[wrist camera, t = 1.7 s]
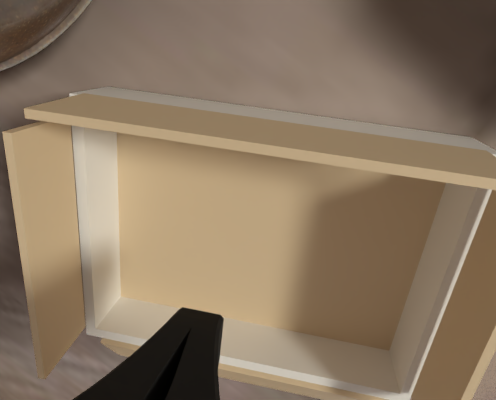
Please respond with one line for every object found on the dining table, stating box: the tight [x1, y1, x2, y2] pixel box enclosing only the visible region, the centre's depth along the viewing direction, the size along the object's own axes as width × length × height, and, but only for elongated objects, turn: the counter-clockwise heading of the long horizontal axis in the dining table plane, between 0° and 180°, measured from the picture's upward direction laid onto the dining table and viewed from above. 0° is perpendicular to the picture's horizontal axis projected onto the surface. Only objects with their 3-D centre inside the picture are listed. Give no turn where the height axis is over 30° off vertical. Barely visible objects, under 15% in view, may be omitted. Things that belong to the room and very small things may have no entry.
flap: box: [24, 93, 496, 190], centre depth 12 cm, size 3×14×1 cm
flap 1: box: [2, 121, 86, 379], centre depth 15 cm, size 3×10×1 cm
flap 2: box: [411, 190, 496, 400], centre depth 13 cm, size 3×10×1 cm
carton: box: [69, 87, 496, 400], centre depth 18 cm, size 15×16×3 cm
